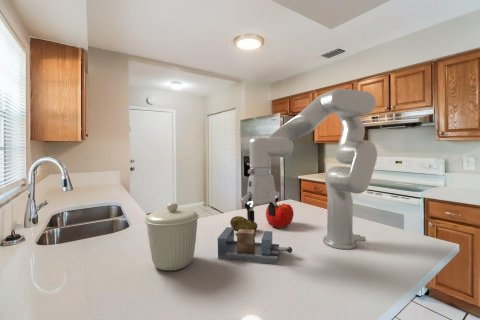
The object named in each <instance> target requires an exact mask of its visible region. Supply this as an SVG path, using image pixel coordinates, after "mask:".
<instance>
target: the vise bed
mask: <svg viewBox="0 0 480 320" xmlns="http://www.w3.org/2000/svg"><path fill="white" fill-rule="evenodd" d="M272 246H273V247H280V244H279V243H272ZM279 253H280V251H271V256H265V255H262V242H257V241H255V249H254V252H253V253H251V252H239V251H237V240H235V230H234V228H232V227H230V226H229V227H228V226H227V227H225V228H224V230H223V231H222V232H221V234H220V235H219V236H218V237H217V259H218V260H226V261H238V262H245V263H247V262H248V263H259V264H266V265H268V264H269V265H278V263H279V256H280V255H279Z"/></svg>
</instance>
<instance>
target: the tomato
mask: <svg viewBox="0 0 480 320" xmlns="http://www.w3.org/2000/svg"><path fill="white" fill-rule="evenodd" d="M265 216H266V221H267V223H268V224H269V225H270V226H272V227H273V228H278V229H282V228H284V227H288V226H290V225H291V223H292V222H293V219H294V209H293V207H292V206H291V205H290V204H288V203H281V204H280V203H279V204H277V205H276V206H275V217H273V216H270V215H269V214H268V206H267V207H266V210H265Z"/></svg>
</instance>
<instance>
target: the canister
mask: <svg viewBox="0 0 480 320" xmlns="http://www.w3.org/2000/svg"><path fill="white" fill-rule="evenodd" d="M199 218H200V213H199V212H198V211H196V210H194V209H192V208H190V207H189V208H188V207H179V205H178V203H177V202H169V203H168V204H167V206H166V208H162V209H158V210H155V211H153V212H151V213H150V214H148V215H147V216H146V217H144V219H143V222H144V224H146V229H147V236H148V237H147V238H148V242H149V243H148V244H149V251H150V255H151V260H152V263H153V265H154V267H156V268H157V269H158V270H161V271H165V272H167V271H169V272H170V271H177V270H181V269H184V268H185V267H186V266H187V267H188V265H190V264H191V262H192V261H193V259H194V256H195V250H196V242H197V241H196V239H197V231H198V219H199Z"/></svg>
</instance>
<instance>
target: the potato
mask: <svg viewBox="0 0 480 320" xmlns="http://www.w3.org/2000/svg"><path fill="white" fill-rule="evenodd" d="M229 222H230V226H231V227H232V228H234V232H236V233H237V232H238V230H239V229H248V230H255V232H256V231H257V229H258V223H257V222H256V221H254V222H251V221H249V220H248V218H246V217H243V216H240V215H239V216H238V215H236V216H234V217H233V216H232V218H231V219H230V221H229Z"/></svg>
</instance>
